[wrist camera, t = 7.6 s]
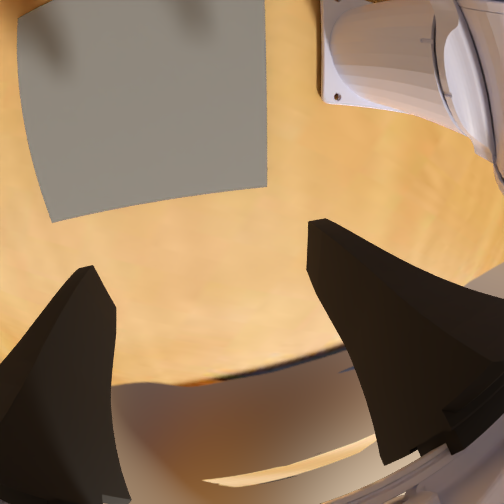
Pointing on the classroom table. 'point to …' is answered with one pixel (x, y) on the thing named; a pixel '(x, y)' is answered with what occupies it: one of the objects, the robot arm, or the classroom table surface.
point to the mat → (143, 100)
